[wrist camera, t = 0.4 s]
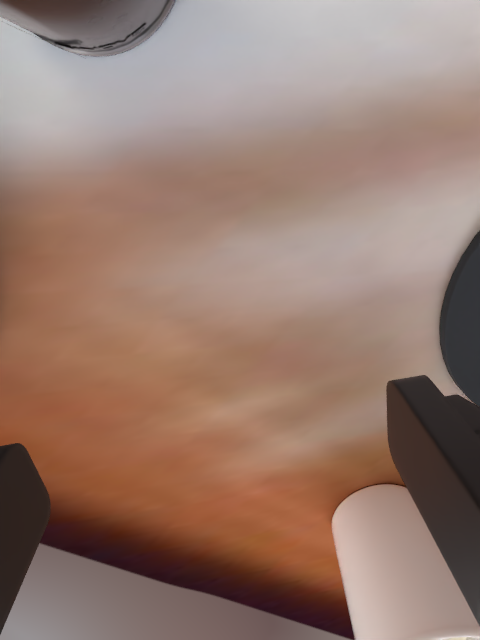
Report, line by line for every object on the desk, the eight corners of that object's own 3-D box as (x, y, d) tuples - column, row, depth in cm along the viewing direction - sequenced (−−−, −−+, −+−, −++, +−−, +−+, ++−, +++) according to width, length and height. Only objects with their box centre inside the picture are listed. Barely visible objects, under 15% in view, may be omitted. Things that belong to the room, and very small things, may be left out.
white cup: (349, 465, 34) (411, 625, 23) (453, 488, 36) (555, 646, 25) (305, 545, 38) (340, 713, 27) (401, 562, 40) (470, 726, 29)
